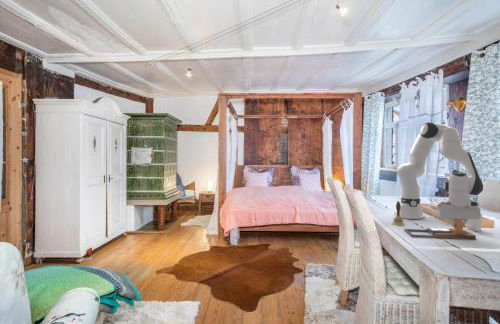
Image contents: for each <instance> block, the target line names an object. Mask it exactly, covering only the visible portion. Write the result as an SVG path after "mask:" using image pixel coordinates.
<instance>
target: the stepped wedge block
mask: <svg viewBox="0 0 500 324" xmlns="http://www.w3.org/2000/svg"><path fill="white" fill-rule="evenodd" d="M463 221H464V220H463V219H454V221H453V222H454V223H455V224H456V227H453V228H452V227H451V228H450V229H451V233H460V234H466V231H467V230H466V231H465V229H464V230H463V228H464V227H463Z"/></svg>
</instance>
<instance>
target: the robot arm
mask: <svg viewBox="0 0 500 324" xmlns="http://www.w3.org/2000/svg"><path fill="white" fill-rule="evenodd" d="M436 142H438V143H439V144H438V146H439V152H440V154H441V156H443V158H444V159H445V158H446V159H448V160H450V161H453V162H457V163H460V164H461V165H463V166H464V168H465V171H466V173H465V172H461V171H454V172H450V174H449V176H447V177H446V178H444V179H443V180H442V190H443V191H444V192H445V193H447V194H448V201H440V202H438V203H437V211H436V217H437V218H439V219H444V220H445V219H447V220H448V221H449V222H450V223H451V228H452V227H453V228H454V227H456V224H455V223H454V219H463V228H466V222H467V219H480V218H481V214H482V213H481V208H480V207H479V206H480V202H478V201H475V200H472V199H469V198H470V197H469V195H470V196H478V195H479V194H481V193H482V192H483V191H484V184H483V181H482V179H481V177H480V176H479V172H478V169H477V168H476V167H477V166H476V164H475V162H474V160H473V157H472V155H471V153H470V152H468V151H467V150H465V148H464V146H463V145H462V140H461V136H460V134H459V131H458V129H457V128H455V127H453V126H448V125H446V124H443V123H441V124H440V123H435V122H425V123H423V124H422V125H421V127H420V129H419V134H418V136H417V137H416V139H415V140H414V143H413V145H412V147H411V149H410V152H409V159H408V160H409V161H408V163H403V164H401V165H399V166H398V167H397V169H396V174H397V176H398V178H399V179H400V184H401V197H400V206H401V208H400V217H401V218H402V219H405V220H407V219H409V220H421V219H424V218H426V216H425V215H424V213H423V212H424V211H423V210H424V209H423V206H422V205H421V198H420V196H421V195H420V189H421V188H420V186H419V184H418V179H417V178H421V176H423V175H424V174H425V166H426V162H427V159H428V156H429V154H430V153H431V150H432V149H433V146H434V145H435V143H436ZM395 210H396V211H394V214H395V217H397V209H395Z"/></svg>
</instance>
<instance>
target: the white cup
mask: <svg viewBox="0 0 500 324" xmlns="http://www.w3.org/2000/svg"><path fill="white" fill-rule="evenodd" d="M482 223H483V213H481V218H480V219H467V222H466V224H465V226H466V229H468V230H471V231H472V232H481V231H482Z"/></svg>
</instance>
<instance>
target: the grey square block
mask: <svg viewBox="0 0 500 324" xmlns="http://www.w3.org/2000/svg"><path fill="white" fill-rule="evenodd" d="M429 228H430V234H429V235H434V233H441V230H439V229H440V228H436V229H434V228H432V227H429Z"/></svg>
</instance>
